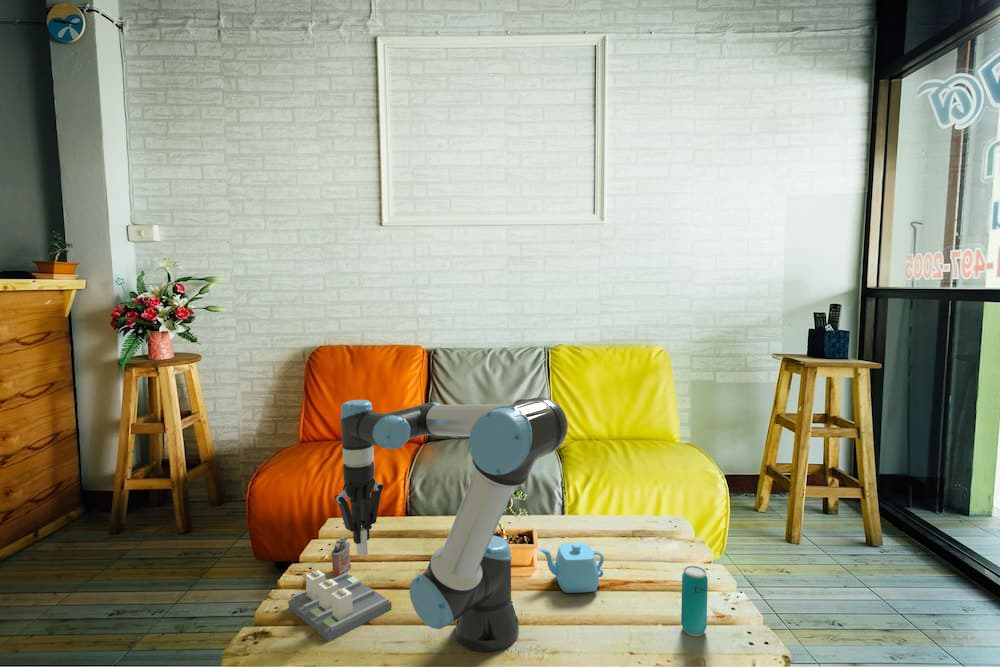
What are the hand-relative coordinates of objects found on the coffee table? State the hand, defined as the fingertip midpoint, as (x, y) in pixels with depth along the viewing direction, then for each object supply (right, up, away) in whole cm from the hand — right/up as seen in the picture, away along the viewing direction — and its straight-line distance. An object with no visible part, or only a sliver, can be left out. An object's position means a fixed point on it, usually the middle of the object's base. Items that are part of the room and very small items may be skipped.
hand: (362, 553), depth 143 cm
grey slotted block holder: (-7, -16, +4) cm, 18 cm away
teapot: (+55, -14, +14) cm, 58 cm away
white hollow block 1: (-14, -13, +6) cm, 20 cm away
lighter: (-11, -14, +22) cm, 29 cm away
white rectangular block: (-9, -14, +1) cm, 16 cm away
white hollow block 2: (-4, -14, -3) cm, 15 cm away
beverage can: (+81, -16, -7) cm, 83 cm away
